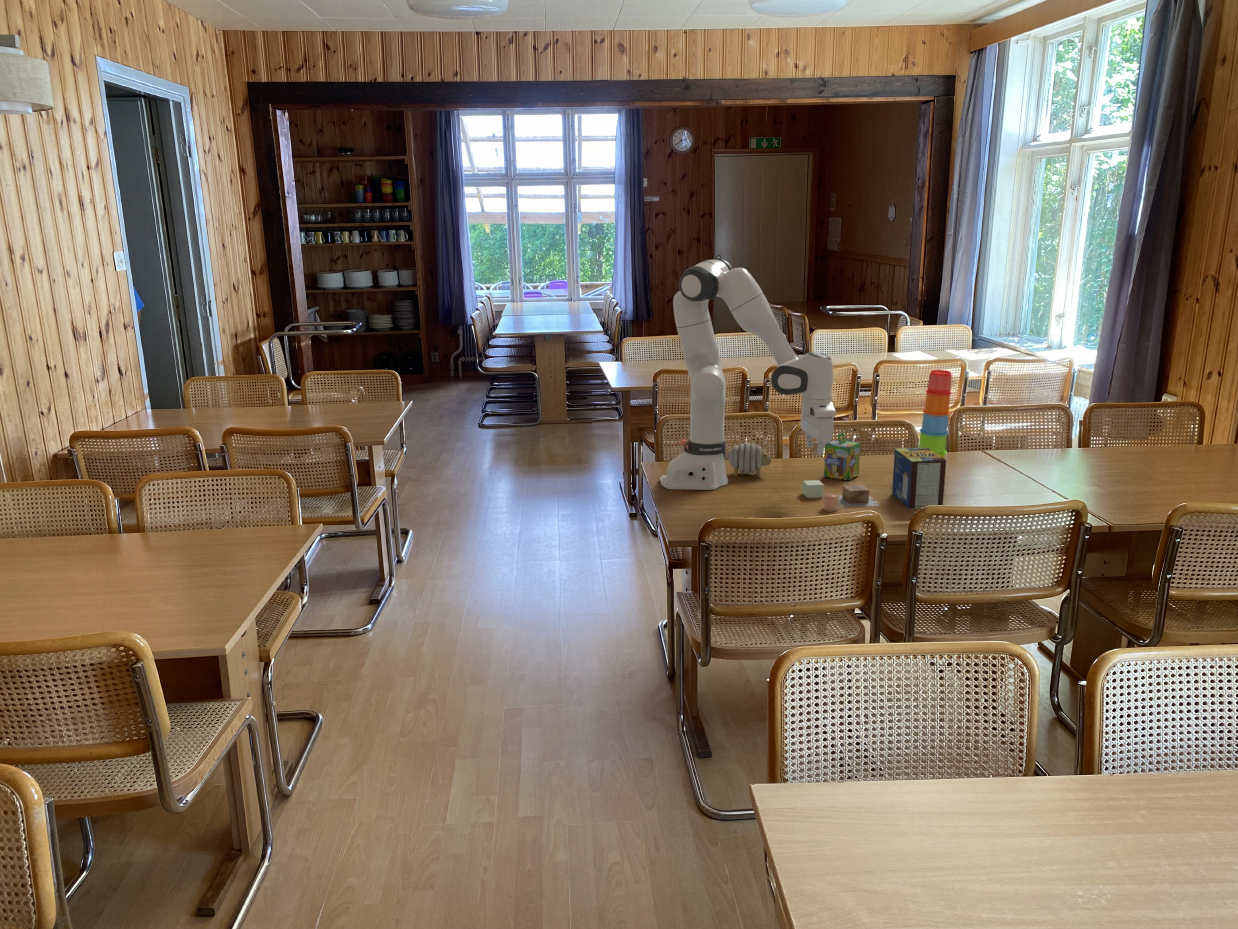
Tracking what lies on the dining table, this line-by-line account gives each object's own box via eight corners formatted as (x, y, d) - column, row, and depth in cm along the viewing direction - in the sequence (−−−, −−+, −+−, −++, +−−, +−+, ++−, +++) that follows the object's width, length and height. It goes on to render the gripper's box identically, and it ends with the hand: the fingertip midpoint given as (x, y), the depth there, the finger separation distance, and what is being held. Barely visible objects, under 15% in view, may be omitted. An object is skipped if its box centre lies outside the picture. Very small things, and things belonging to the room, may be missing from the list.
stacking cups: (940, 467, 310) (949, 368, 301) (948, 476, 301) (957, 373, 292) (910, 467, 311) (917, 368, 302) (916, 475, 302) (924, 373, 293)
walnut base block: (849, 503, 270) (849, 491, 269) (842, 497, 276) (842, 485, 275) (868, 502, 271) (869, 490, 270) (861, 497, 276) (861, 484, 275)
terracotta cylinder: (825, 514, 264) (826, 498, 262) (821, 509, 268) (821, 493, 266) (840, 513, 264) (841, 497, 263) (835, 509, 268) (836, 493, 267)
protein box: (924, 495, 280) (927, 447, 276) (943, 510, 265) (947, 460, 261) (890, 496, 280) (894, 447, 276) (907, 511, 265) (911, 460, 261)
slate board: (842, 509, 267) (842, 507, 267) (829, 498, 279) (829, 495, 278) (881, 508, 268) (881, 505, 268) (866, 496, 280) (867, 493, 280)
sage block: (807, 500, 277) (807, 485, 275) (802, 496, 281) (803, 480, 280) (823, 500, 277) (823, 484, 276) (818, 495, 282) (818, 480, 281)
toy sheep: (771, 479, 300) (772, 447, 297) (720, 478, 301) (721, 446, 298) (769, 471, 310) (770, 439, 307) (720, 470, 311) (720, 439, 308)
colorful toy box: (848, 481, 296) (851, 438, 292) (822, 477, 301) (824, 434, 297) (860, 475, 303) (862, 432, 299) (834, 471, 308) (836, 429, 304)
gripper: (796, 400, 281) (794, 443, 285) (817, 413, 262) (815, 459, 265) (816, 399, 282) (814, 442, 286) (838, 412, 262) (835, 458, 266)
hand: (814, 450), depth 275 cm, fingers open, 8 cm apart
